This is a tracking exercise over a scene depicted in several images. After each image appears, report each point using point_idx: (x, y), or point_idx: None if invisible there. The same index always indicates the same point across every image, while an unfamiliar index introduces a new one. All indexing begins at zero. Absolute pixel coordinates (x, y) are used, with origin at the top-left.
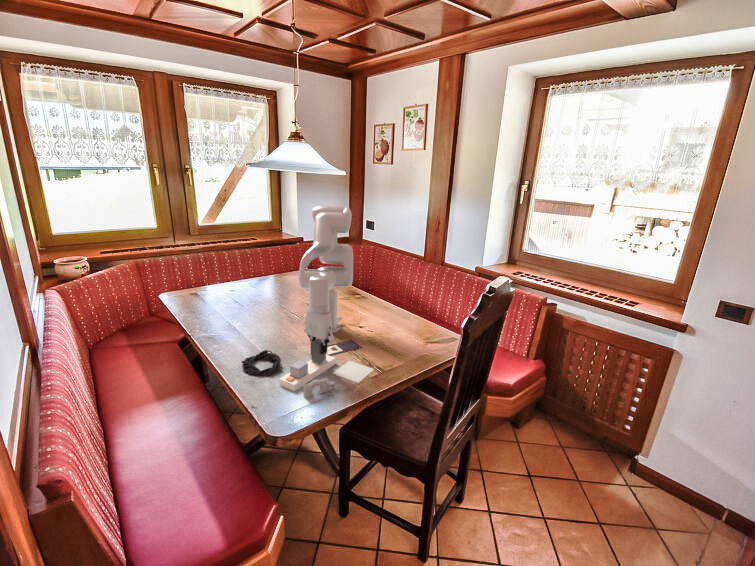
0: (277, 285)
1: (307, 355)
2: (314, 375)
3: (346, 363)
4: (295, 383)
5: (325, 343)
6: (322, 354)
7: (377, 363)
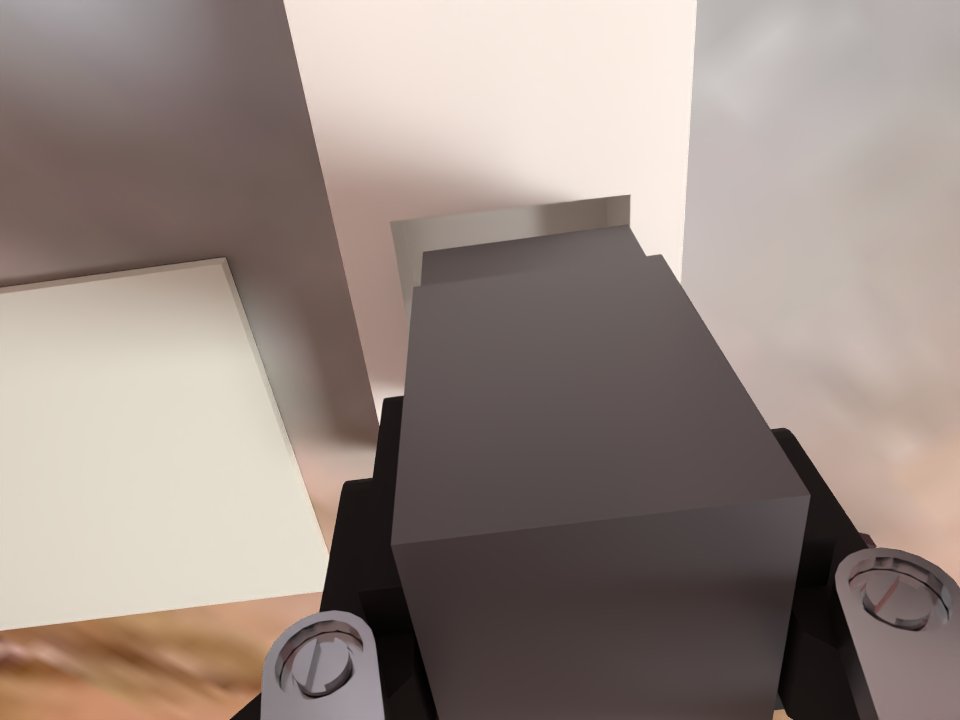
0: None
1: (890, 380)
2: None
3: (308, 537)
4: None
5: (269, 711)
6: (388, 402)
7: (102, 702)
